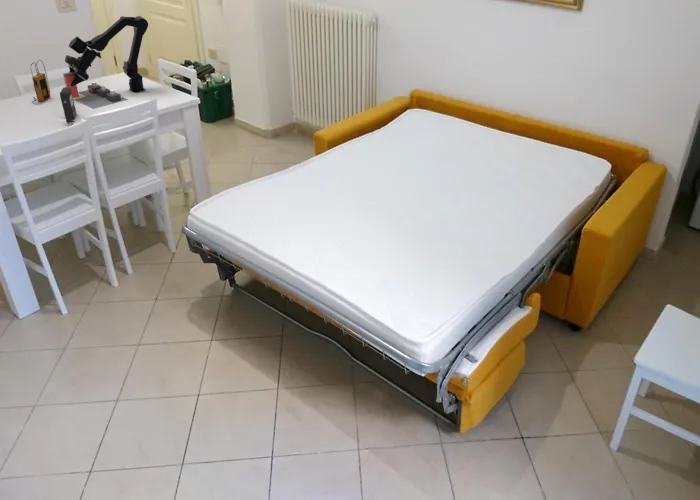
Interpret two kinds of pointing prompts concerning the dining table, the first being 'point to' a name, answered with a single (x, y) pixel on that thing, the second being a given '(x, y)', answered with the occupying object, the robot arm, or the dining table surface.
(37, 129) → the dining table surface
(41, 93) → the multimeter
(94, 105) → the breaker panel
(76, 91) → the block
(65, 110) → the card reader
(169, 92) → the dining table surface
